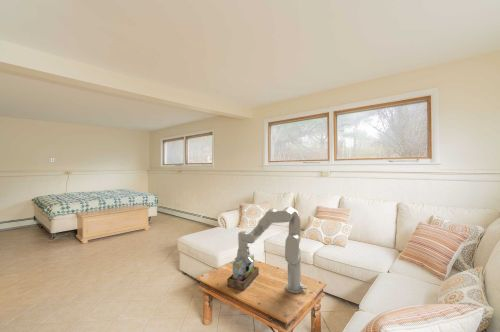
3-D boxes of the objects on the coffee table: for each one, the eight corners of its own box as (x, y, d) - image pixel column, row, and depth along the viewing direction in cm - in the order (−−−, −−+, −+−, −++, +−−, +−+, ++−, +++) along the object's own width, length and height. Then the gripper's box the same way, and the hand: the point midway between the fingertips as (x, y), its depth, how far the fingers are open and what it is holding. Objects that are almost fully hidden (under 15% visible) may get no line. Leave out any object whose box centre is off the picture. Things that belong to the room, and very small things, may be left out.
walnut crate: (258, 274, 196) (258, 267, 195) (243, 290, 171) (243, 282, 171) (243, 271, 202) (243, 264, 201) (227, 286, 177) (227, 279, 177)
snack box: (238, 283, 176) (237, 264, 176) (232, 281, 179) (231, 262, 179) (254, 272, 193) (254, 254, 193) (249, 270, 196) (248, 253, 196)
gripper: (255, 247, 185) (255, 269, 186) (236, 244, 193) (236, 266, 193) (251, 250, 179) (251, 274, 179) (231, 247, 186) (231, 269, 187)
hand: (243, 269), depth 186 cm, fingers closed on snack box, 6 cm apart
